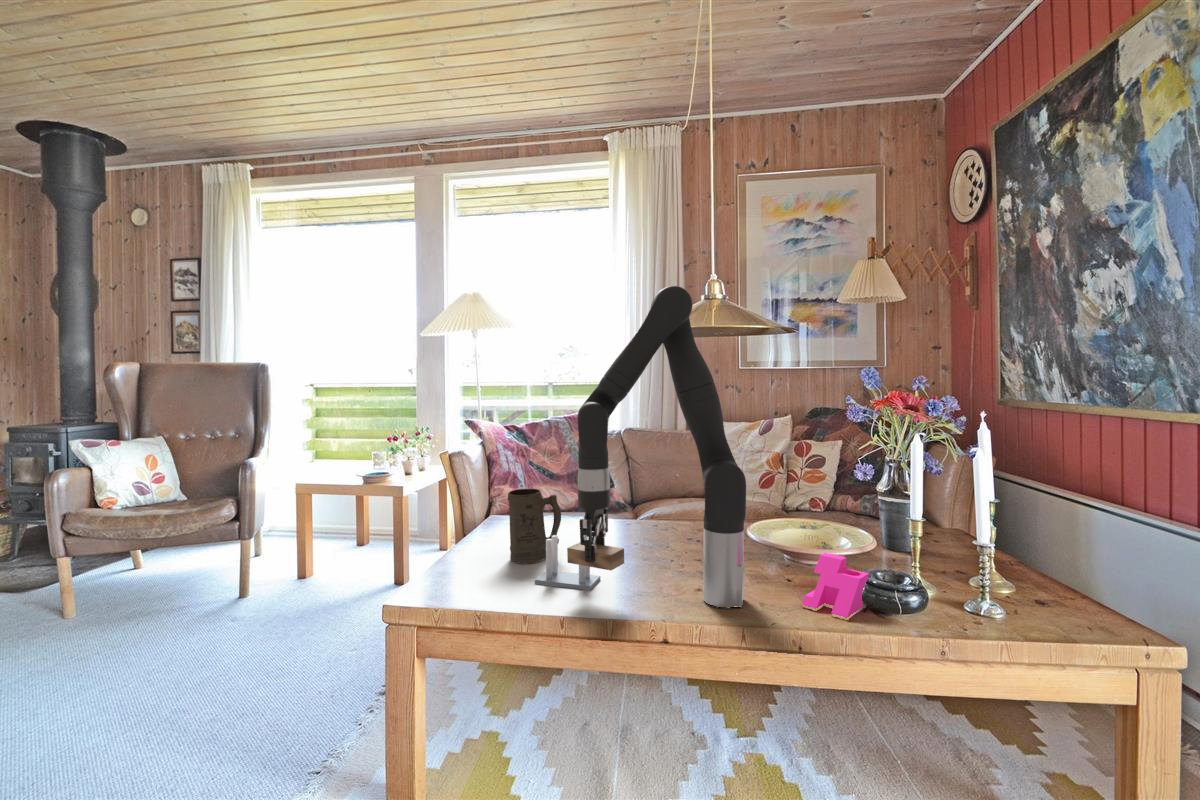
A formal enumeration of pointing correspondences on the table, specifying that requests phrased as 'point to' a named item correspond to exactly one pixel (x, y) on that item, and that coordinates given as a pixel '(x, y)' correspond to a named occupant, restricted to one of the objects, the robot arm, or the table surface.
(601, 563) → the brown wooden block
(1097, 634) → the table surface
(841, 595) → the pink dog planter
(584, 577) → the peg stand
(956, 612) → the table surface
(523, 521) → the beer stein
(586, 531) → the robot arm
